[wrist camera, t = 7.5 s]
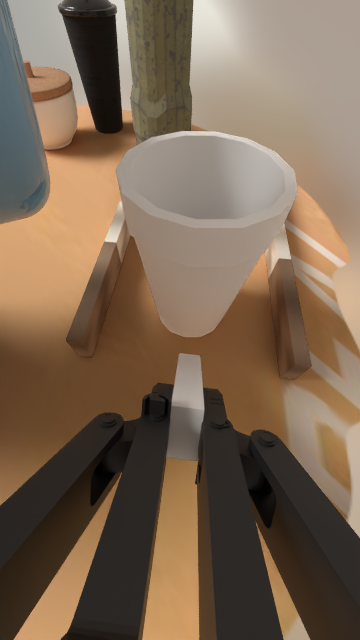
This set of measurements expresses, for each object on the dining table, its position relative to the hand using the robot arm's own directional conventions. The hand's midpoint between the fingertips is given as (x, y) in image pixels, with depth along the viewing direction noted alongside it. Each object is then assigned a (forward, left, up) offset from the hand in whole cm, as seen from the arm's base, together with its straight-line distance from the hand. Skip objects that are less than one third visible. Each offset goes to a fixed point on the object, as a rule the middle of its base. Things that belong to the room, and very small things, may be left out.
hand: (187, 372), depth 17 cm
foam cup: (+7, +3, -3) cm, 8 cm away
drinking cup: (+36, +32, -3) cm, 49 cm away
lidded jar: (+27, +37, -3) cm, 47 cm away
